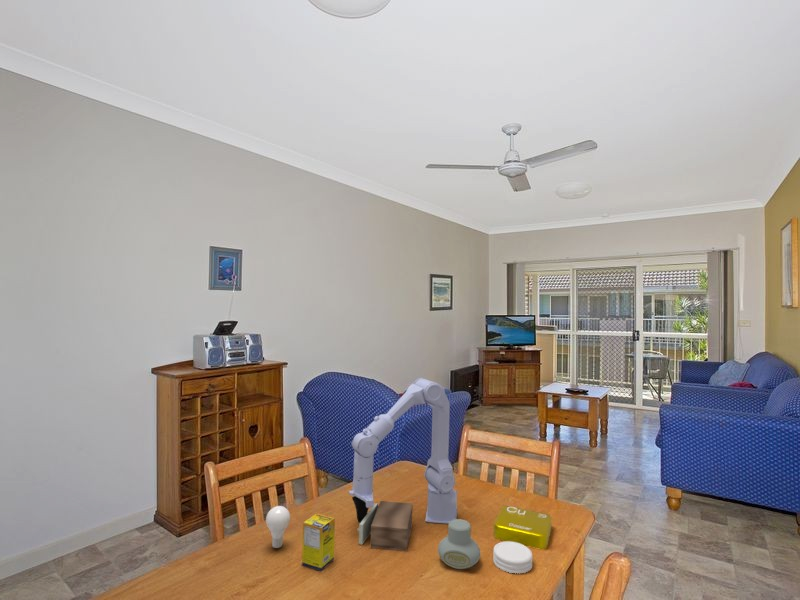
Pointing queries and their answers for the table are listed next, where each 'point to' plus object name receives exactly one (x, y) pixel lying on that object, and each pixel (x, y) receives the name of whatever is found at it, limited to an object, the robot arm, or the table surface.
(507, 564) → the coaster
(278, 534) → the lightbulb
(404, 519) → the walnut cabinet
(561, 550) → the table surface
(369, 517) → the cabinet door
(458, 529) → the air freshener
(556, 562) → the table surface
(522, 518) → the element tile
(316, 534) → the supplement box
